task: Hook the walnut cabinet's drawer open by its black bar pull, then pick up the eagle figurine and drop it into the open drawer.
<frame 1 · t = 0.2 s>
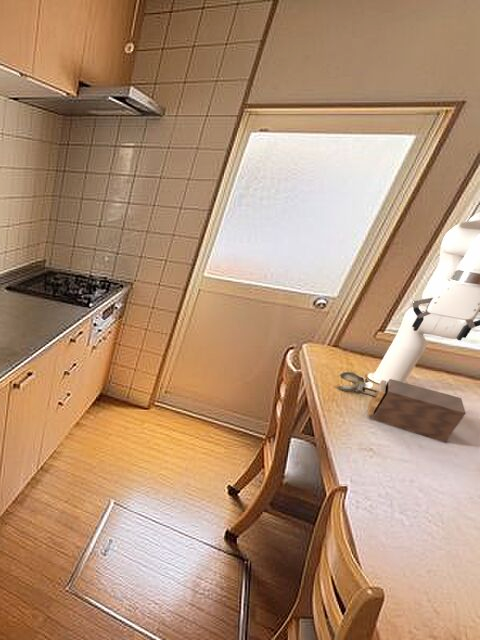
hand: (436, 334, 128), 31 cm above the table, tool pointing down, fingers open, 9 cm apart
cabinet: (406, 422, 142), on the table
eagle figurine: (351, 390, 163), on the table
character figurine: (428, 410, 152), on the table
drawer: (396, 403, 142), point 5 cm above the table, slide at 0.5 cm
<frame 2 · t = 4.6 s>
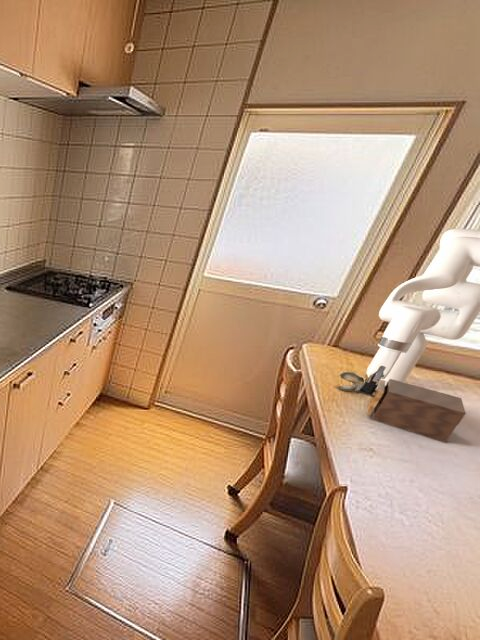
hand: (366, 392, 147), 6 cm above the table, tool pointing down, fingers closed
nothing on the table moved.
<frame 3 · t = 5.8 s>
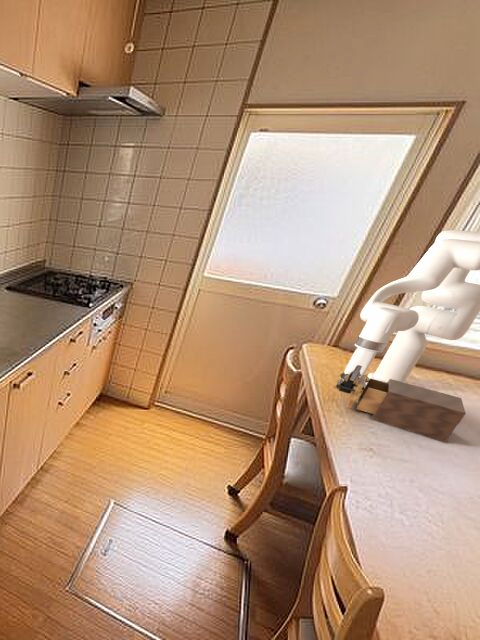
hand: (344, 391, 151), 4 cm above the table, tool pointing down, fingers closed
drawer: (374, 396, 146), point 5 cm above the table, slide at 6.2 cm, touching gripper
everything else where it was.
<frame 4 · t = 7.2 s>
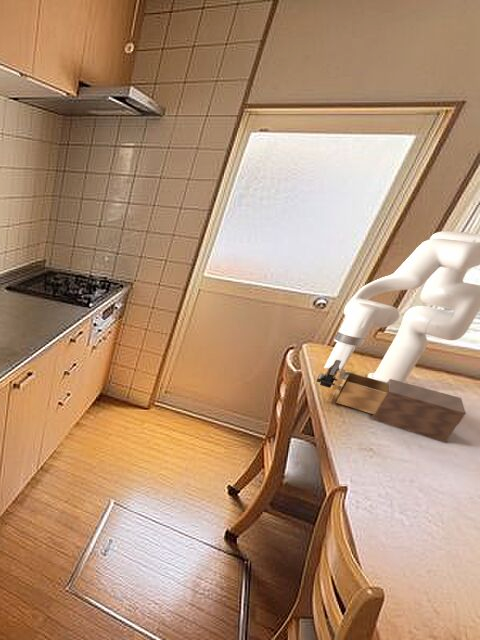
hand: (325, 385, 154), 4 cm above the table, tool pointing down, fingers closed
drawer: (353, 390, 149), point 5 cm above the table, slide at 11.9 cm, touching gripper
everything else where it was.
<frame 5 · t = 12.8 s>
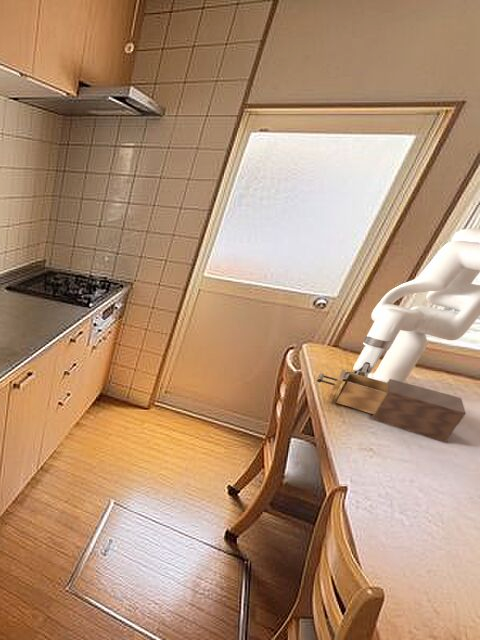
hand: (354, 384, 162), 2 cm above the table, tool pointing down, fingers closed on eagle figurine, 8 cm apart
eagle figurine: (352, 387, 161), point 1 cm above the table, touching gripper
drawer: (354, 390, 149), point 5 cm above the table, slide at 11.8 cm
everything else where it was.
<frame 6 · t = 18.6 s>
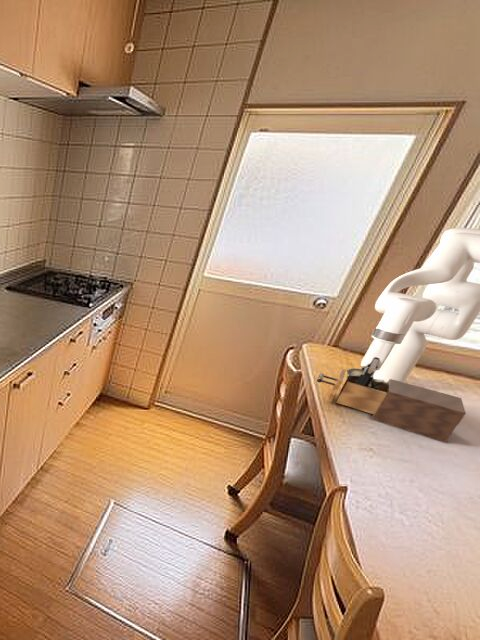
hand: (361, 382, 147), 9 cm above the table, tool pointing down, fingers closed on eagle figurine, 8 cm apart
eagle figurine: (359, 385, 146), point 8 cm above the table, touching gripper
drawer: (354, 390, 149), point 5 cm above the table, slide at 11.8 cm, touching gripper
everything else where it was.
when the fingers open (10 cm above the table, at t = 30.0 s): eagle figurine drops 5 cm, resting on drawer.
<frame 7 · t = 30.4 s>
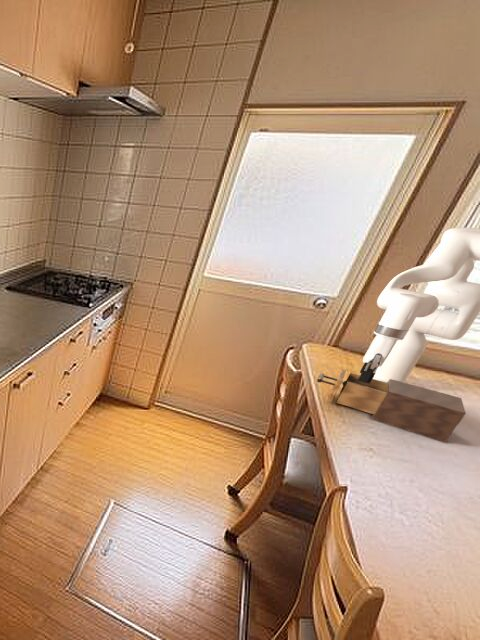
hand: (364, 377, 146), 11 cm above the table, tool pointing down, fingers open, 9 cm apart
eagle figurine: (354, 397, 148), point 4 cm above the table, touching drawer
drawer: (354, 390, 149), point 5 cm above the table, slide at 11.8 cm, touching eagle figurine
everything else where it was.
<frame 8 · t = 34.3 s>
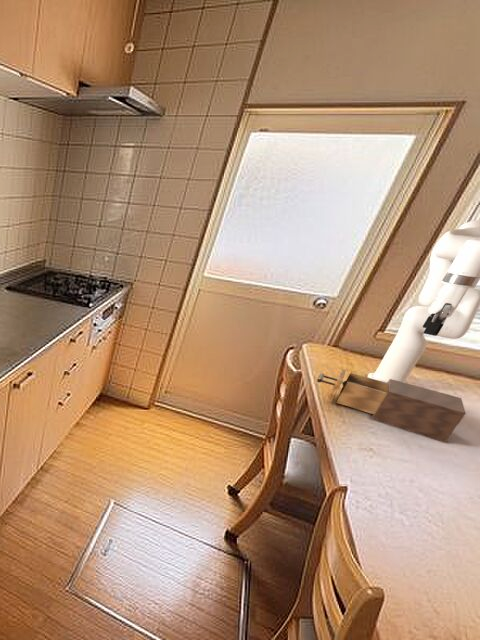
hand: (429, 331, 140), 28 cm above the table, tool pointing down, fingers open, 9 cm apart
nothing on the table moved.
at the end: drawer slide at 11.8 cm; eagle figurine inside the target area in the drawer (3.4 cm from its centre), point 3.6 cm above the cabinet's base; the gripper is holding nothing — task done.
